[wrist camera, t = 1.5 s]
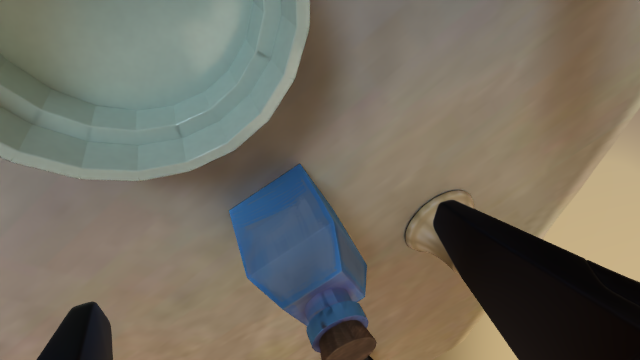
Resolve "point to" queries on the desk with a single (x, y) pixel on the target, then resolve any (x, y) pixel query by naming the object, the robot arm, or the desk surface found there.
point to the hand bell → (422, 229)
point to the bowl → (141, 81)
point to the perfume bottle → (306, 263)
